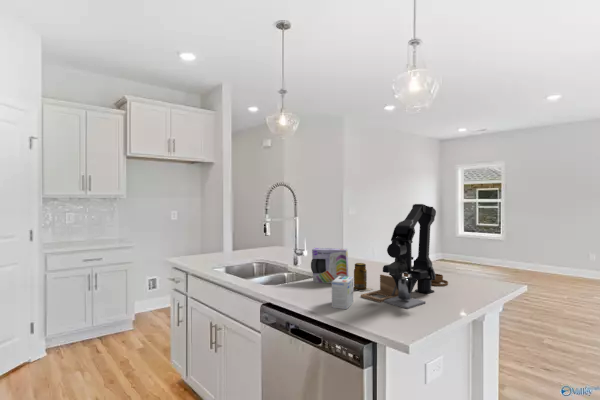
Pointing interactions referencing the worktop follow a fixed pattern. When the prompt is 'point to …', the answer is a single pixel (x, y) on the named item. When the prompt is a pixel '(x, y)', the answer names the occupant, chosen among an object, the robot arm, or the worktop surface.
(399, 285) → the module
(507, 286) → the worktop surface
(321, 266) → the cake pan box
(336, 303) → the light bulb box
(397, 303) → the mat
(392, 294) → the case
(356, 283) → the condiment
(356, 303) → the worktop surface
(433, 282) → the place setting
